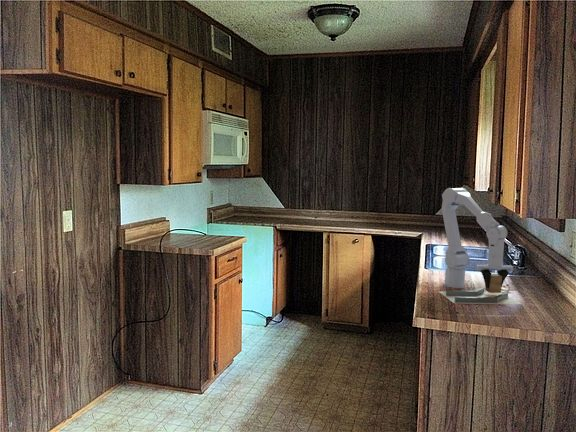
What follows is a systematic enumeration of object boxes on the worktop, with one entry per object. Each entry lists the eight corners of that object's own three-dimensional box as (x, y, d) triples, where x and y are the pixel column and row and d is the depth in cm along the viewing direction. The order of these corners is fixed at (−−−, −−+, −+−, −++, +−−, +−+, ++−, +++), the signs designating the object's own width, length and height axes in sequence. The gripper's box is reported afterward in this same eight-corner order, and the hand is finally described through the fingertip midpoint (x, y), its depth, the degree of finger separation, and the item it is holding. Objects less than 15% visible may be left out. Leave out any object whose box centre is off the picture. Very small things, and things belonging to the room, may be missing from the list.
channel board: (438, 292, 211) (438, 291, 211) (500, 293, 212) (501, 291, 212) (454, 304, 193) (454, 303, 193) (522, 305, 194) (522, 303, 194)
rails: (441, 291, 210) (441, 287, 210) (499, 292, 211) (499, 287, 211) (455, 302, 194) (456, 297, 194) (518, 303, 195) (518, 298, 195)
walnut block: (485, 289, 208) (486, 273, 207) (495, 290, 208) (497, 273, 208) (490, 292, 204) (491, 275, 203) (500, 292, 204) (502, 276, 203)
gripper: (482, 256, 200) (480, 289, 202) (517, 257, 201) (515, 290, 202) (475, 253, 207) (472, 285, 209) (509, 254, 208) (507, 286, 209)
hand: (493, 287), depth 206 cm, fingers closed on walnut block, 4 cm apart
